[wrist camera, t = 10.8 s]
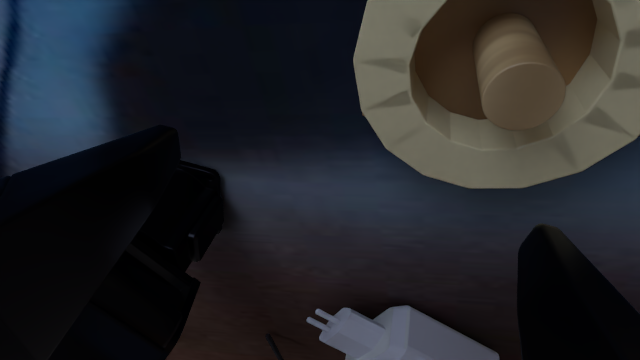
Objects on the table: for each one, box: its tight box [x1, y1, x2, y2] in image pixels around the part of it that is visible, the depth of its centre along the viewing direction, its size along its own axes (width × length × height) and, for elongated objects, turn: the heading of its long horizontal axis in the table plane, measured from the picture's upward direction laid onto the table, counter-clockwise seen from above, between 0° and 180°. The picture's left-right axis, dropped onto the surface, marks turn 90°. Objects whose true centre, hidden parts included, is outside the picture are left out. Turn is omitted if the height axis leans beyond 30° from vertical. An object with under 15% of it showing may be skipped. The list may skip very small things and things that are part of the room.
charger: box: [307, 305, 500, 360], centre depth 32 cm, size 5×9×15 cm
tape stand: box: [362, 0, 597, 130], centre depth 15 cm, size 10×10×6 cm
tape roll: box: [353, 0, 640, 189], centre depth 15 cm, size 11×11×3 cm
